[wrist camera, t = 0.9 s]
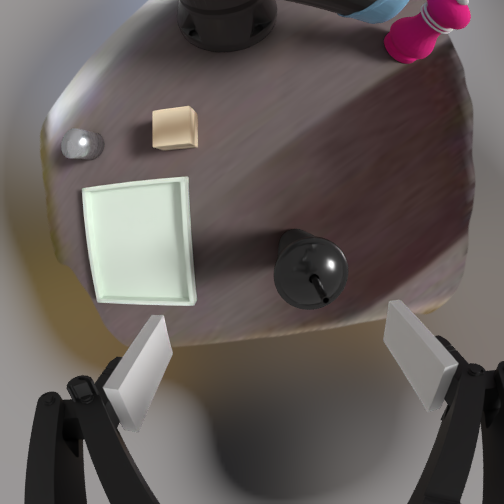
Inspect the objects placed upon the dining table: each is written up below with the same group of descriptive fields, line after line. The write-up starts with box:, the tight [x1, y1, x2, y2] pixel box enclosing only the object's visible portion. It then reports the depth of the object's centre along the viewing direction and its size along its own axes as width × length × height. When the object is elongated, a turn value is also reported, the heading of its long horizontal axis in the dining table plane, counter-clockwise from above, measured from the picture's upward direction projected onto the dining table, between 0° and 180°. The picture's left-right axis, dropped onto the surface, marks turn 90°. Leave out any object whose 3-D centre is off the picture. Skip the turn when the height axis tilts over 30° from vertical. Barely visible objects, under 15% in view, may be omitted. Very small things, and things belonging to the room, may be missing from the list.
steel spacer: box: [61, 128, 104, 160], centre depth 35 cm, size 4×4×6 cm
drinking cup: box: [274, 229, 348, 310], centre depth 32 cm, size 8×8×20 cm
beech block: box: [153, 106, 198, 151], centre depth 36 cm, size 5×5×5 cm
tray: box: [82, 177, 197, 306], centre depth 41 cm, size 19×17×2 cm
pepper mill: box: [384, 0, 471, 64], centre depth 23 cm, size 7×7×20 cm
